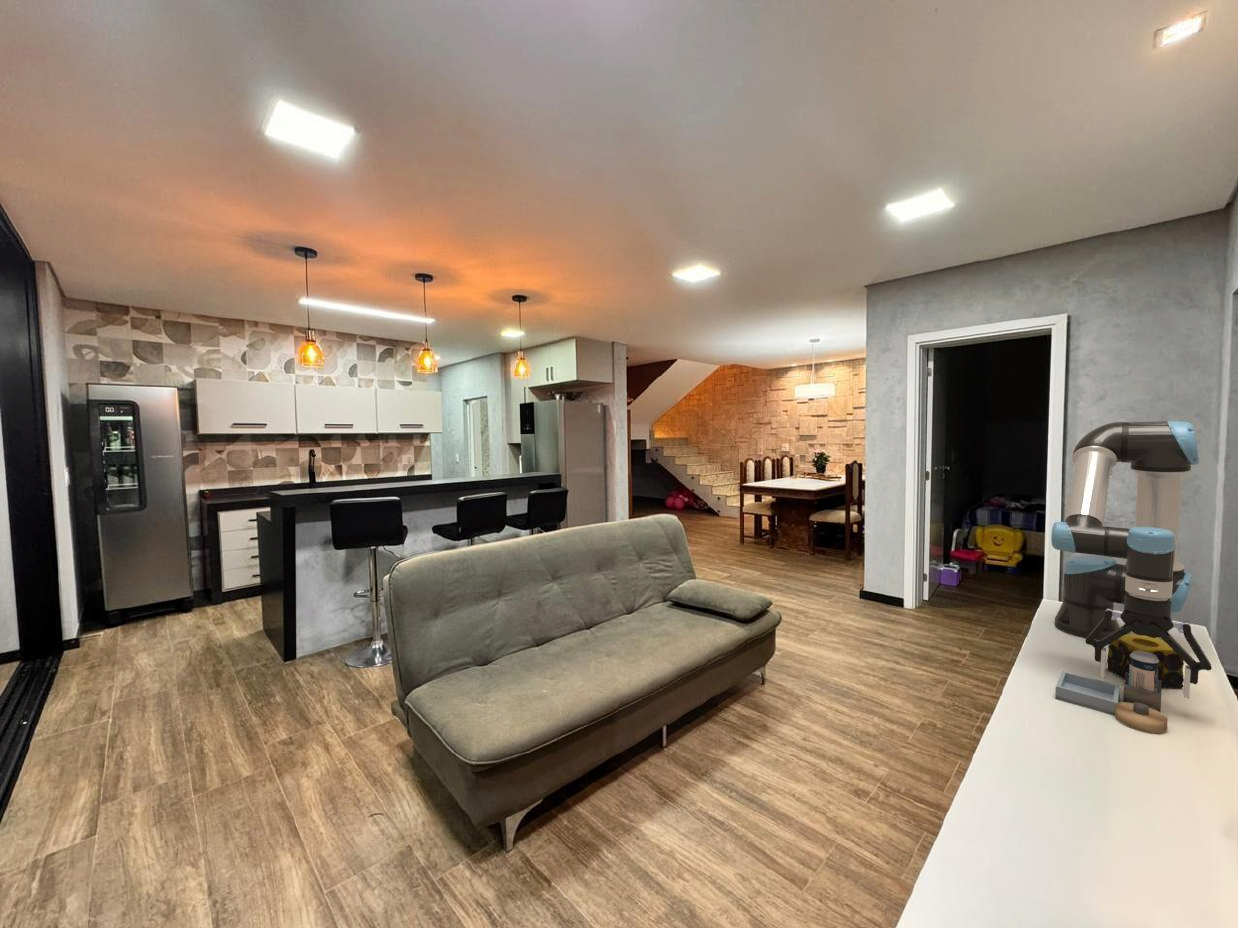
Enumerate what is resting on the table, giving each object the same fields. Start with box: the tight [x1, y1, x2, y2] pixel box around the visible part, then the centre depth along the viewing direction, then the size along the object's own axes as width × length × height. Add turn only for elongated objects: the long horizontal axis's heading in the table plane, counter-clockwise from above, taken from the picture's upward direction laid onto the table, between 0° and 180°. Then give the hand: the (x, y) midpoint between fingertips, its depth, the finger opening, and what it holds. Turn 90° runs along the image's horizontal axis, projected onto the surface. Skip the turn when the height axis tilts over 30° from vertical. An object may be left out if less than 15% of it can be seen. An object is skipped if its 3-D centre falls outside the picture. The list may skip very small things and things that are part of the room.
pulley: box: [1114, 701, 1168, 735], centre depth 113 cm, size 8×8×4 cm
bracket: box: [1122, 672, 1162, 713], centre depth 120 cm, size 9×6×5 cm, turn 134°
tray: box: [1055, 670, 1121, 716], centre depth 123 cm, size 11×11×3 cm
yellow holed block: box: [1106, 633, 1185, 690], centre depth 131 cm, size 10×10×10 cm
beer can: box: [1129, 650, 1159, 692], centre depth 120 cm, size 5×5×12 cm
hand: (1142, 685), depth 120 cm, fingers open, 13 cm apart
